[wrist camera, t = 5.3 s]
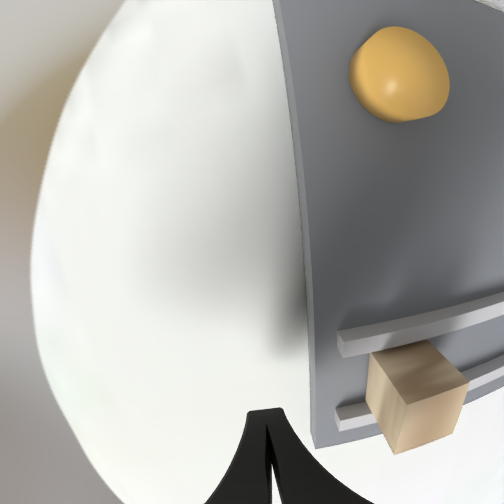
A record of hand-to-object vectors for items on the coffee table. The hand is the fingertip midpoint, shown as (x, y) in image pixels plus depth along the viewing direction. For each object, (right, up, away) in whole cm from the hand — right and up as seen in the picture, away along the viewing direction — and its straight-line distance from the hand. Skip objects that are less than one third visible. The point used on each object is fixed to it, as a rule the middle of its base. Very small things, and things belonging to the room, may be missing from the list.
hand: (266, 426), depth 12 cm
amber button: (+5, +14, -1) cm, 15 cm away
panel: (+10, +9, +2) cm, 14 cm away
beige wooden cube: (+6, +1, +2) cm, 7 cm away
